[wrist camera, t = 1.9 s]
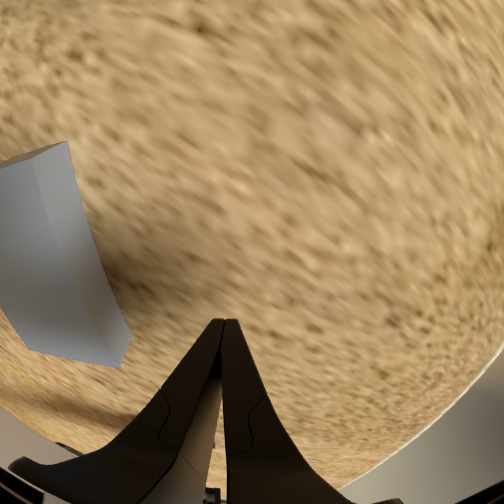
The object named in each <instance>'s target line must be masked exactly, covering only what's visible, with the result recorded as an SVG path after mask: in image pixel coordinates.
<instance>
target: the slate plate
mask: <svg viewBox="0 0 504 504" xmlns="http://www.w3.org/2000/svg"><path fill="white" fill-rule="evenodd" d="M0 307H1V308H2V310H3V312H4V313H5V315H6V316H7V318H8V320H9V321H10V323H11V324H12V326H13V327H14V329H15V330H16V332H17V333H18V335H19V336H20V338H21V339H22V340H23V342H24V343H25V345H26V346H27V347H28V349H29V350H33V351H37V352H41V353H45V354H49V355H53V356H57V357H62V358H66V359H71V360H76V361H81V362H86V363H91V364H97V365H103V366H109V367H115V368H120V365H121V363H122V360H123V357H124V355H125V352H126V349H127V347H128V344H129V342H130V339H131V337H132V335H131V333H130V331H129V328H128V326H127V324H126V322H125V320H124V317H123V315H122V313H121V311H120V308H119V306H118V304H117V301H116V299H115V297H114V294H113V292H112V289H111V287H110V284H109V282H108V279H107V276H106V274H105V271H104V269H103V266H102V263H101V260H100V258H99V255H98V252H97V249H96V246H95V243H94V240H93V237H92V234H91V231H90V228H89V224H88V221H87V218H86V214H85V211H84V207H83V204H82V200H81V196H80V193H79V189H78V185H77V181H76V177H75V172H74V168H73V164H72V159H71V154H70V149H69V144H68V141H64V142H61V143H57V144H54V145H50V146H47V147H44V148H41V149H38V150H35V151H32V152H29V153H26V154H23V155H20V156H17V157H15V158H12V159H9V160H7V161H4V162H1V163H0Z"/></svg>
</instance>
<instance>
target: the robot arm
mask: <svg viewBox="0 0 504 504" xmlns="http://www.w3.org/2000/svg"><path fill="white" fill-rule="evenodd" d="M221 399H222V400H223V418H224V435H225V450H226V465H227V504H356V503H353V502H351V501H349V500H348V499H346V498H345V497H344V496H343V495H342V494H340V493H339V492H338V491H337V490H336V489H334V488H333V487H332V486H331V485H330V484H329V483H327V482H326V481H325V480H324V479H323V478H322V477H321V476H319V475H318V474H317V473H316V472H315V471H314V470H313V469H312V468H311V467H310V465H309V464H308V463H307V461H306V460H305V459H304V457H303V456H302V455H301V453H300V452H299V450H298V449H297V447H296V445H295V444H294V442H293V441H292V439H291V438H290V436H289V435H288V433H287V432H286V430H285V428H284V427H283V425H282V423H281V421H280V420H279V418H278V416H277V414H276V412H275V410H274V408H273V406H272V403H271V401H270V399H269V396H268V395H267V392H266V389H265V387H264V384H263V382H262V380H261V377H260V375H259V372H258V370H257V367H256V365H255V362H254V360H253V357H252V355H251V352H250V350H249V347H248V345H247V342H246V340H245V337H244V335H243V332H242V330H241V327H240V324H239V322H238V320H237V319H226V320H225V319H221V318H214V319H212V320H211V322H210V323H209V324H208V326H207V327H206V328H205V330H204V331H203V332H202V334H201V335H200V336H199V338H198V339H197V340H196V342H195V343H194V344H193V346H192V347H191V348H190V350H189V351H188V352H187V354H186V355H185V356H184V357H183V359H182V360H181V361H180V363H179V364H178V365H177V367H176V368H175V369H174V371H173V372H172V373H171V375H170V376H169V377H168V379H167V380H166V381H165V383H164V384H163V385H162V386H161V389H159V390H158V392H157V393H156V394H155V396H154V397H153V398H152V399H151V401H150V402H149V403H148V404H147V405H146V407H145V408H144V409H143V410H142V411H141V412H140V413H139V414H138V415H137V416H136V417H135V418H134V419H133V420H132V421H131V422H130V423H129V424H128V425H127V426H126V427H125V428H124V429H123V430H122V431H121V432H120V433H119V434H118V435H117V436H116V437H115V438H114V439H113V440H112V441H111V442H110V443H108V444H107V445H106V446H104V447H103V448H101V449H99V450H96V451H94V452H91V453H88V454H85V455H82V456H79V457H77V458H73V459H70V460H68V461H64V462H61V463H57V464H53V465H42V464H39V463H37V462H35V461H32V460H31V459H29V458H27V457H24V456H23V457H21V458H19V459H17V460H15V461H14V462H12V463H11V464H10V465H9V466H8V469H9V470H10V471H11V472H13V473H14V474H16V475H18V476H19V477H21V478H23V479H24V480H26V481H28V482H29V483H31V484H33V485H35V486H37V487H38V488H40V489H42V490H44V493H43V492H41V491H40V490H38V489H36V488H34V487H33V486H31V485H29V484H27V483H26V482H24V481H22V480H21V479H19V478H17V477H16V476H14V475H13V474H11V473H9V472H8V471H6V470H5V469H3V468H1V467H0V504H221V496H220V488H207V487H206V481H207V475H208V470H209V464H210V459H211V453H212V448H215V442H214V437H215V431H216V426H217V420H218V415H219V409H220V404H221ZM204 497H206V500H203V498H204ZM373 504H404V503H403V502H402V501H401V500H400V499H399V498H394V499H390V500H385V501H381V502H377V503H373ZM455 504H504V480H501V481H500V482H498V483H496V484H494V485H492V486H490V487H488V488H486V489H484V490H482V491H479V492H478V493H476V494H474V495H472V496H469V497H467V498H465V499H463V500H461V501H459V502H457V503H455Z"/></svg>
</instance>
